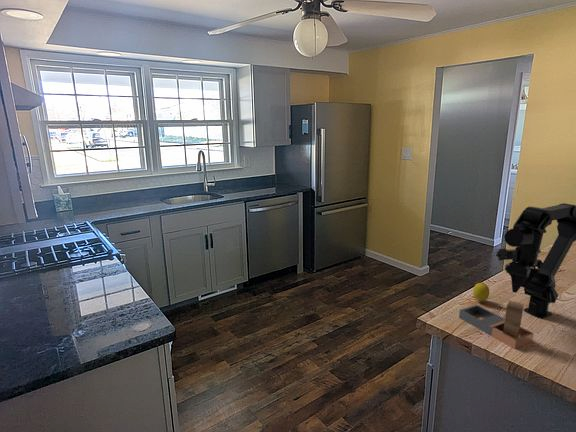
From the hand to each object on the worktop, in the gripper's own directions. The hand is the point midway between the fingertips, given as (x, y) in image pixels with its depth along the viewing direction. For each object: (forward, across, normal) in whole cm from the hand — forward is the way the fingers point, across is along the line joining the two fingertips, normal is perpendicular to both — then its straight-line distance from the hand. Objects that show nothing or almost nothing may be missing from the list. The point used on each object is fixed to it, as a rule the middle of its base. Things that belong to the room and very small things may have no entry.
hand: (518, 289), depth 122 cm
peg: (+14, +9, +3) cm, 17 cm away
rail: (+14, +7, -3) cm, 16 cm away
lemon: (+12, -9, -14) cm, 21 cm away
